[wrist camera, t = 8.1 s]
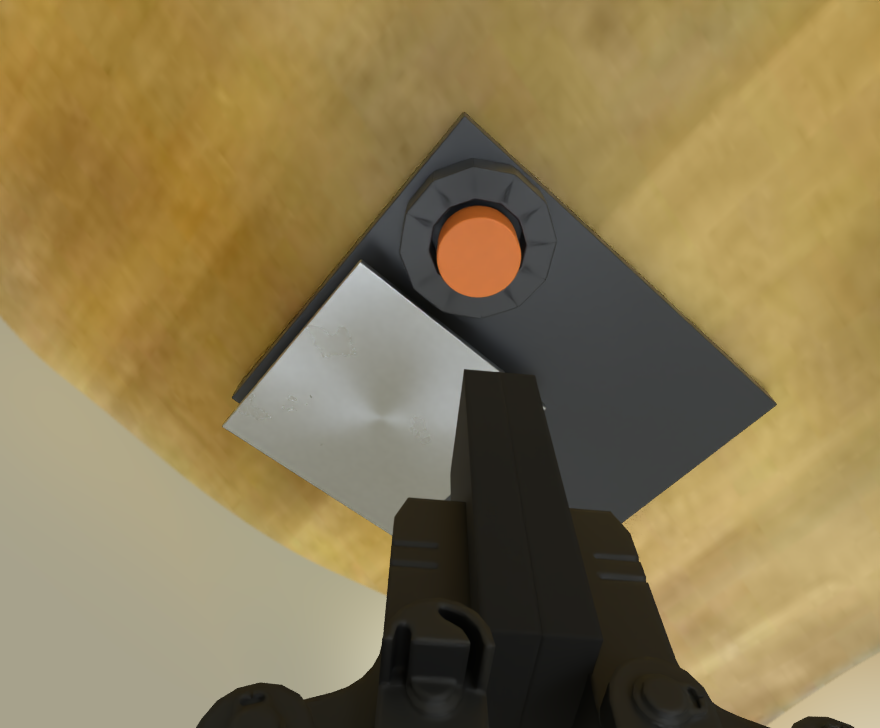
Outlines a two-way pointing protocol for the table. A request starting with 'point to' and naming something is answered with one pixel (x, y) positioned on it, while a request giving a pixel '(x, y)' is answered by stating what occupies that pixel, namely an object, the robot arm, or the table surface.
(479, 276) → the button
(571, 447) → the scale
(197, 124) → the table surface
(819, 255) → the table surface
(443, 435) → the plate
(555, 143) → the table surface
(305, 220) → the table surface
